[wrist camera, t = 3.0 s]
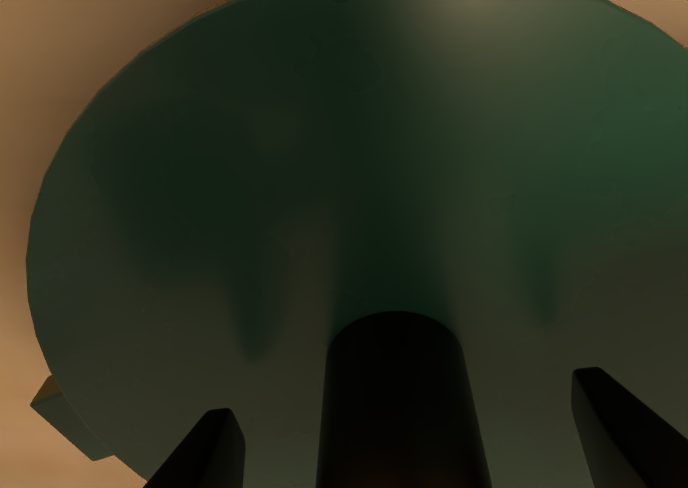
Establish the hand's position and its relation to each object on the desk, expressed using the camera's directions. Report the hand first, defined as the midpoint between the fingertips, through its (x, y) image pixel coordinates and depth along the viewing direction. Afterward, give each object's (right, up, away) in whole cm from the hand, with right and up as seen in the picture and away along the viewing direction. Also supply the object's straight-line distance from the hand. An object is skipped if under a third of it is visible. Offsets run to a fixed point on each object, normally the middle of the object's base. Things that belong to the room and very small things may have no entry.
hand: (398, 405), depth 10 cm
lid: (0, +1, +1) cm, 2 cm away
